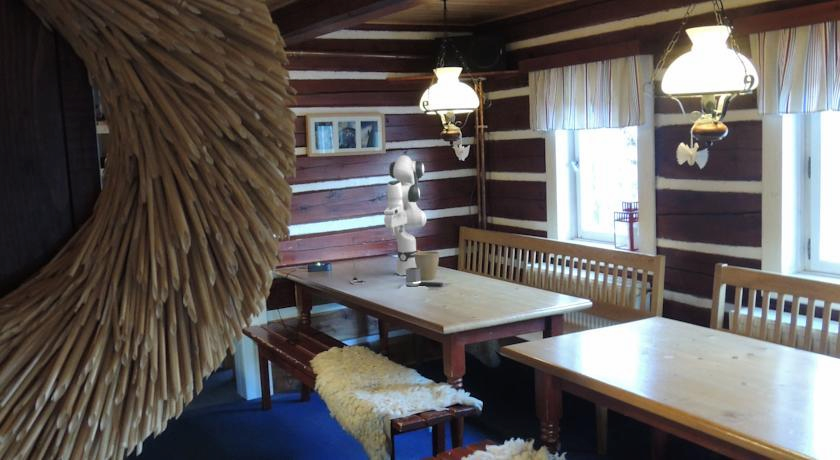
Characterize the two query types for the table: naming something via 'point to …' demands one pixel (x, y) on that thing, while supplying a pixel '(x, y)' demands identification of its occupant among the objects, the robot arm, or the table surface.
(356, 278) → the tow hook
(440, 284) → the ratchet
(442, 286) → the mat
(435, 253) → the plant pot
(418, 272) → the hollow square tube
